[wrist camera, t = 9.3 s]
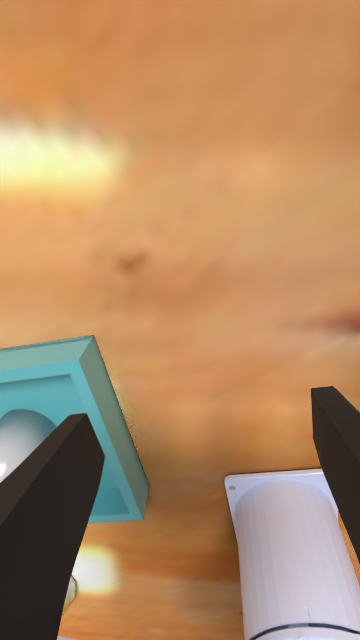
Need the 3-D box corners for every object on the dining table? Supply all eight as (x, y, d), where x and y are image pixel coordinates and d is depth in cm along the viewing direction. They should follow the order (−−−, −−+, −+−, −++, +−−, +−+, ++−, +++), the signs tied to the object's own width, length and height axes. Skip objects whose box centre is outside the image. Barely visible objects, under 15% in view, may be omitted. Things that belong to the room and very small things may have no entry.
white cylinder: (67, 453, 25) (37, 519, 21) (12, 454, 26) (-29, 519, 21) (49, 407, 23) (11, 470, 19) (-10, 410, 24) (-61, 472, 19)
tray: (149, 486, 27) (143, 520, 25) (-8, 497, 29) (-28, 529, 27) (93, 335, 21) (78, 360, 18) (-100, 363, 23) (-136, 389, 21)
